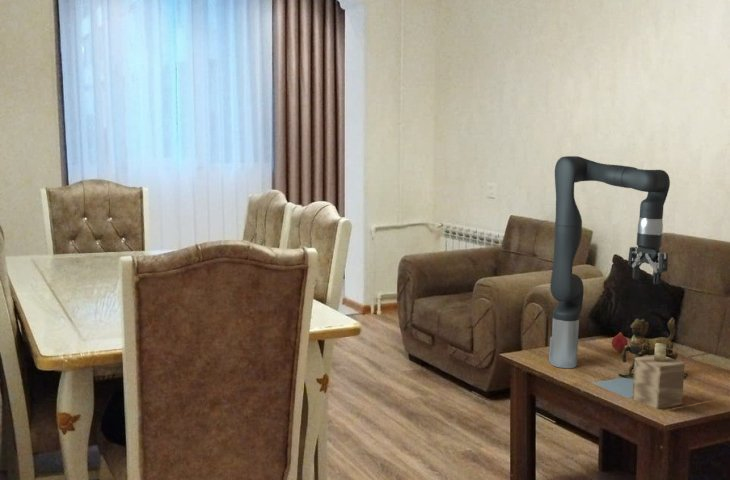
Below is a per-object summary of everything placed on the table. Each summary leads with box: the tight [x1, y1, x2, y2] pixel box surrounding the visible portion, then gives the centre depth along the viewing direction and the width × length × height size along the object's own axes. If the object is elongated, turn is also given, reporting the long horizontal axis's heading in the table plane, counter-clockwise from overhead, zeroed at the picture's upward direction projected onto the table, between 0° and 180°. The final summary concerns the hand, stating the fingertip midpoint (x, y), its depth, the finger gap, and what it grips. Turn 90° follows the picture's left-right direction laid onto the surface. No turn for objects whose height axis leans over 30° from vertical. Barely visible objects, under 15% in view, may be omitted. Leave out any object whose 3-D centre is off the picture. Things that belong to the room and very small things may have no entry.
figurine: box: [618, 317, 689, 379], centre depth 257 cm, size 13×25×20 cm, turn 96°
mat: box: [592, 377, 634, 399], centre depth 245 cm, size 16×16×1 cm
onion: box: [611, 331, 629, 353], centre depth 287 cm, size 6×6×8 cm
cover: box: [631, 343, 686, 410], centre depth 231 cm, size 10×10×19 cm
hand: (646, 281), depth 241 cm, fingers open, 8 cm apart
